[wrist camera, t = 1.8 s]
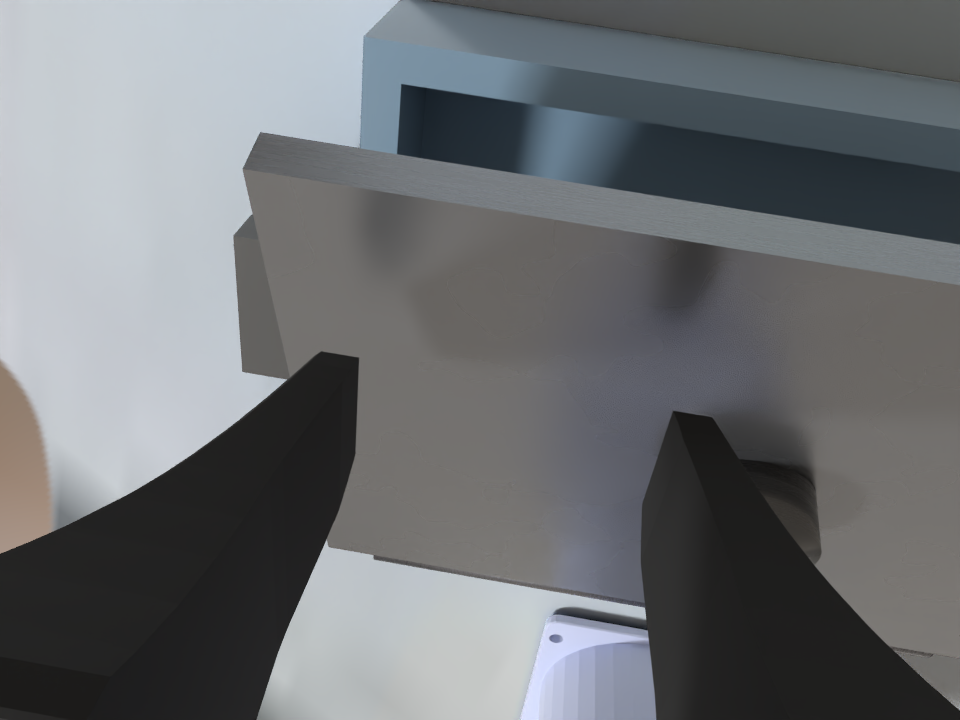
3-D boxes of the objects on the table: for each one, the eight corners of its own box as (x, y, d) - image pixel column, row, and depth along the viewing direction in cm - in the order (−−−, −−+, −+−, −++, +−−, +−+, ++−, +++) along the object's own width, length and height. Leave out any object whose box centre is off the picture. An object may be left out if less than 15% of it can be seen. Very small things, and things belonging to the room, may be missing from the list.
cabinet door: (963, 640, 23) (976, 713, 22) (337, 530, 24) (319, 595, 23) (1564, 342, 11) (1661, 468, 10) (260, 132, 12) (213, 230, 11)
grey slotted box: (1004, 547, 26) (1061, 652, 23) (290, 424, 27) (249, 510, 24) (1305, 135, 18) (1458, 206, 15) (280, -23, 19) (214, 13, 16)
